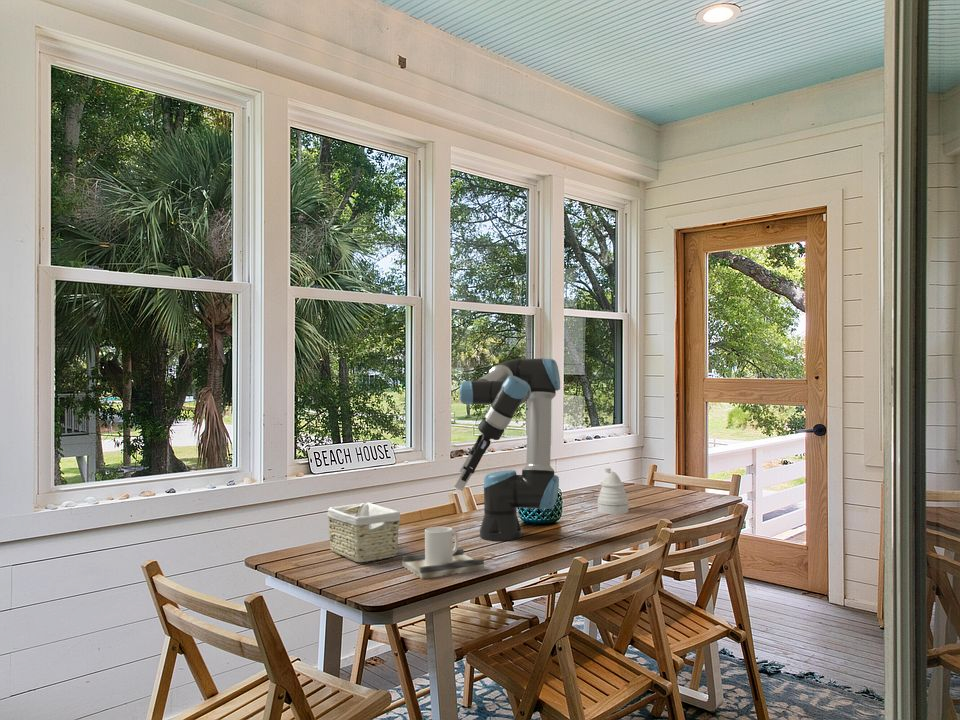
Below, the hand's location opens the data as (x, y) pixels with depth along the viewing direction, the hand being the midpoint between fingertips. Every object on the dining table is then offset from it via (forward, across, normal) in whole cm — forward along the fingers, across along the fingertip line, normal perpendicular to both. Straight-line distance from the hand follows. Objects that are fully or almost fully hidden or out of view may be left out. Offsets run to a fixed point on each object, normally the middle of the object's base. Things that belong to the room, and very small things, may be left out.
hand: (460, 480), depth 214 cm
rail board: (+23, +10, +8) cm, 26 cm away
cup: (+22, +9, +7) cm, 25 cm away
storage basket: (+41, -5, -15) cm, 44 cm away
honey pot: (+8, -79, +69) cm, 105 cm away
